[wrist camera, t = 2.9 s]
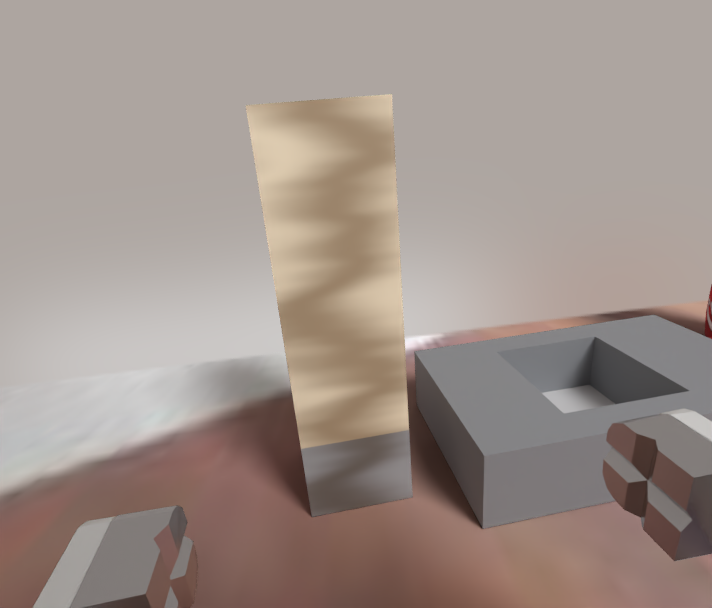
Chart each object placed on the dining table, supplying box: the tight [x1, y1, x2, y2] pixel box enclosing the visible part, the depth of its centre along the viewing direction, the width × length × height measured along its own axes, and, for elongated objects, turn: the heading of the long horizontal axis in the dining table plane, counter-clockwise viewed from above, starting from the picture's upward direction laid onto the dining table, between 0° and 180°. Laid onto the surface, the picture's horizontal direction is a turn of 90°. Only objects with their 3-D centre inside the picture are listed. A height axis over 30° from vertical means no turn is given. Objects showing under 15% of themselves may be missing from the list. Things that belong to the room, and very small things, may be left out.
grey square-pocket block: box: [414, 315, 712, 529], centre depth 24 cm, size 17×10×4 cm, turn 99°
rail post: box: [246, 94, 413, 517], centre depth 20 cm, size 5×5×18 cm
